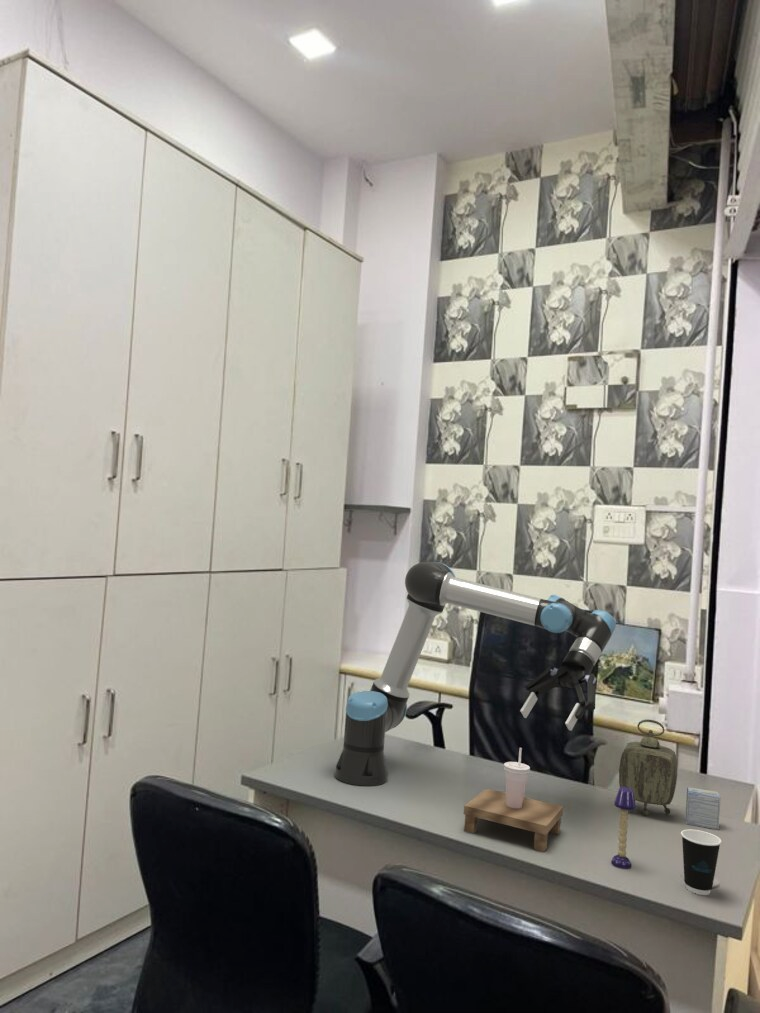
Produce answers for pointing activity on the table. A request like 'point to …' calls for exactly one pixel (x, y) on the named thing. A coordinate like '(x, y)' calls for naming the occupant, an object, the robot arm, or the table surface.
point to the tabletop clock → (649, 770)
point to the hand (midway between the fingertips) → (545, 720)
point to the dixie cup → (699, 860)
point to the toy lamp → (623, 824)
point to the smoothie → (515, 782)
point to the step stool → (514, 815)
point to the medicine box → (702, 808)
